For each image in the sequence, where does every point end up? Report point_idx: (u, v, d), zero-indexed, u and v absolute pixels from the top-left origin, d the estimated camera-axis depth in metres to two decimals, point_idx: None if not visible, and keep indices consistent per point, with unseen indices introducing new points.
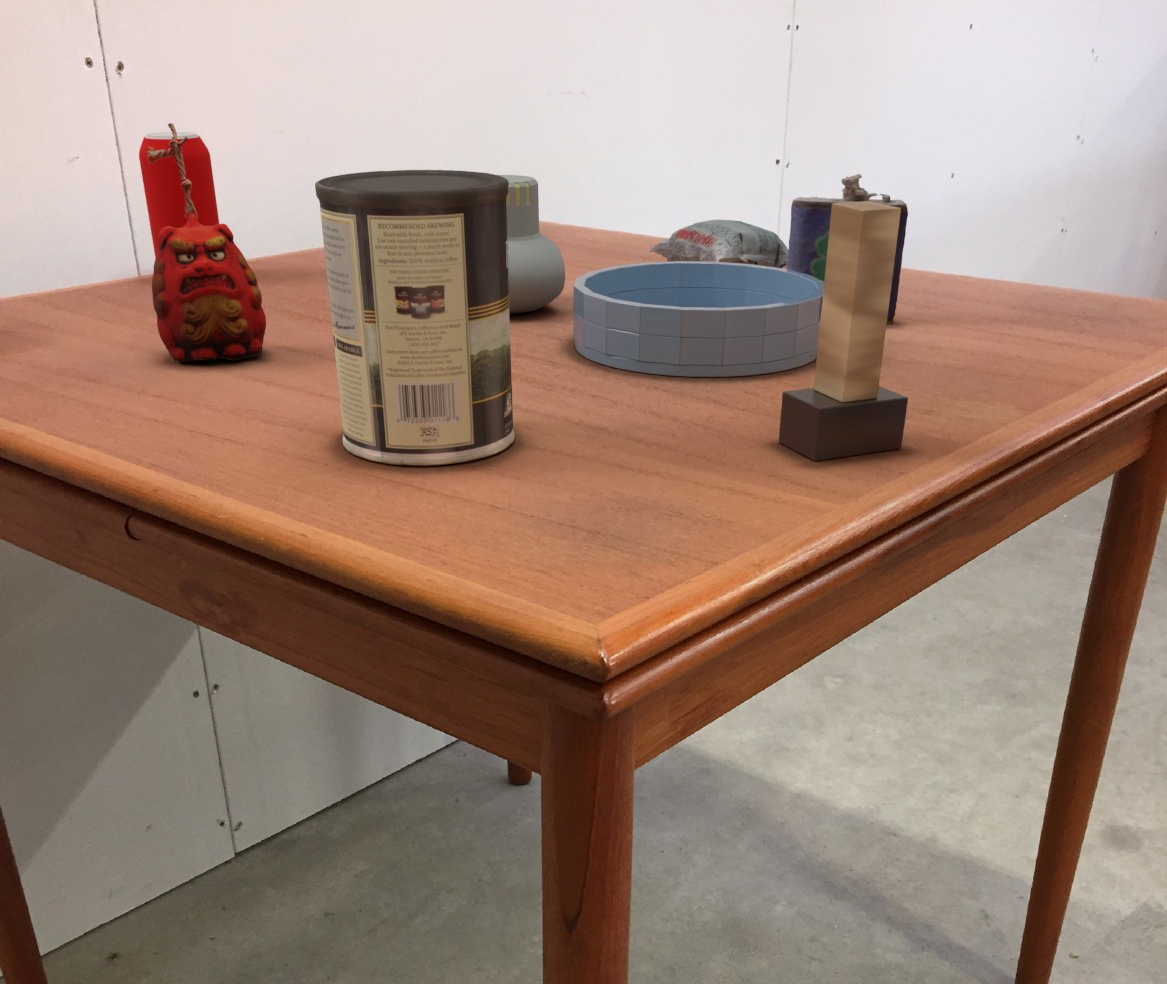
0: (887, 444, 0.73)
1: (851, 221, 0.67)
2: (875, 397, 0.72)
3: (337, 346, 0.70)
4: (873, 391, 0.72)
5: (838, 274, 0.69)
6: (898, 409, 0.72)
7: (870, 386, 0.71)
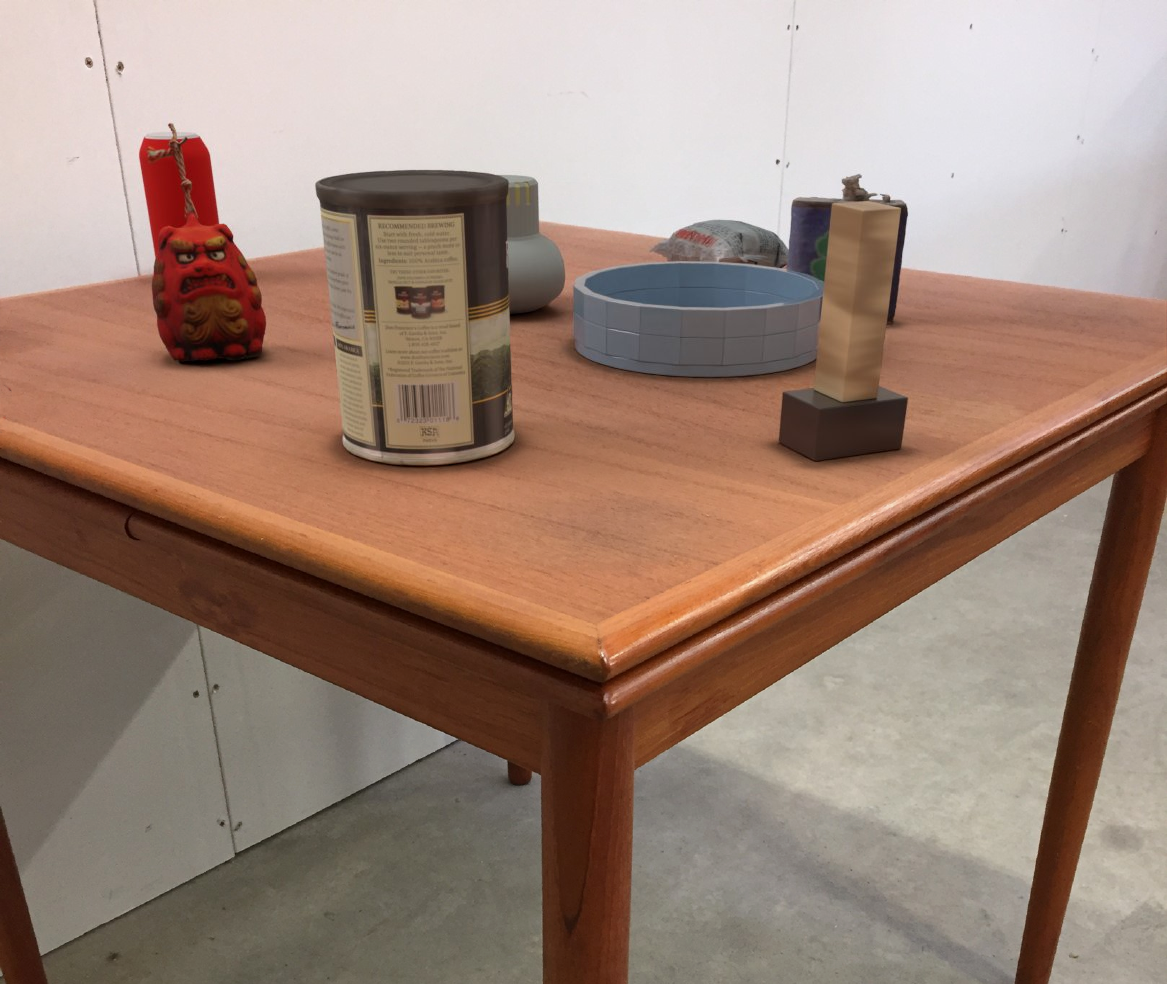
0: (887, 444, 0.73)
1: (851, 221, 0.67)
2: (875, 397, 0.72)
3: (337, 346, 0.70)
4: (873, 391, 0.72)
5: (838, 274, 0.69)
6: (898, 409, 0.72)
7: (870, 386, 0.71)
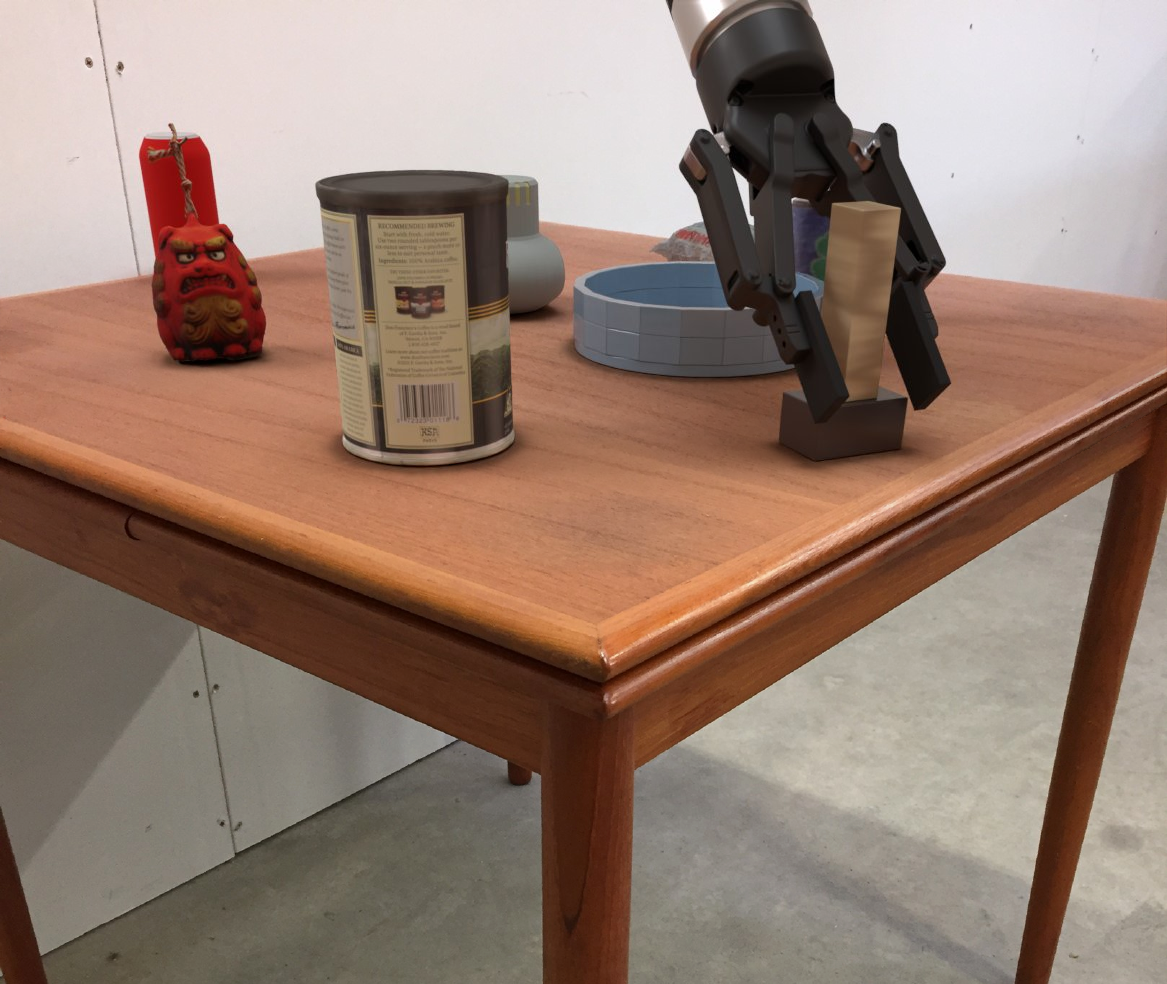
0: (887, 444, 0.73)
1: (851, 221, 0.67)
2: (875, 397, 0.72)
3: (337, 346, 0.70)
4: (873, 391, 0.72)
5: (838, 274, 0.69)
6: (898, 409, 0.72)
7: (870, 386, 0.71)
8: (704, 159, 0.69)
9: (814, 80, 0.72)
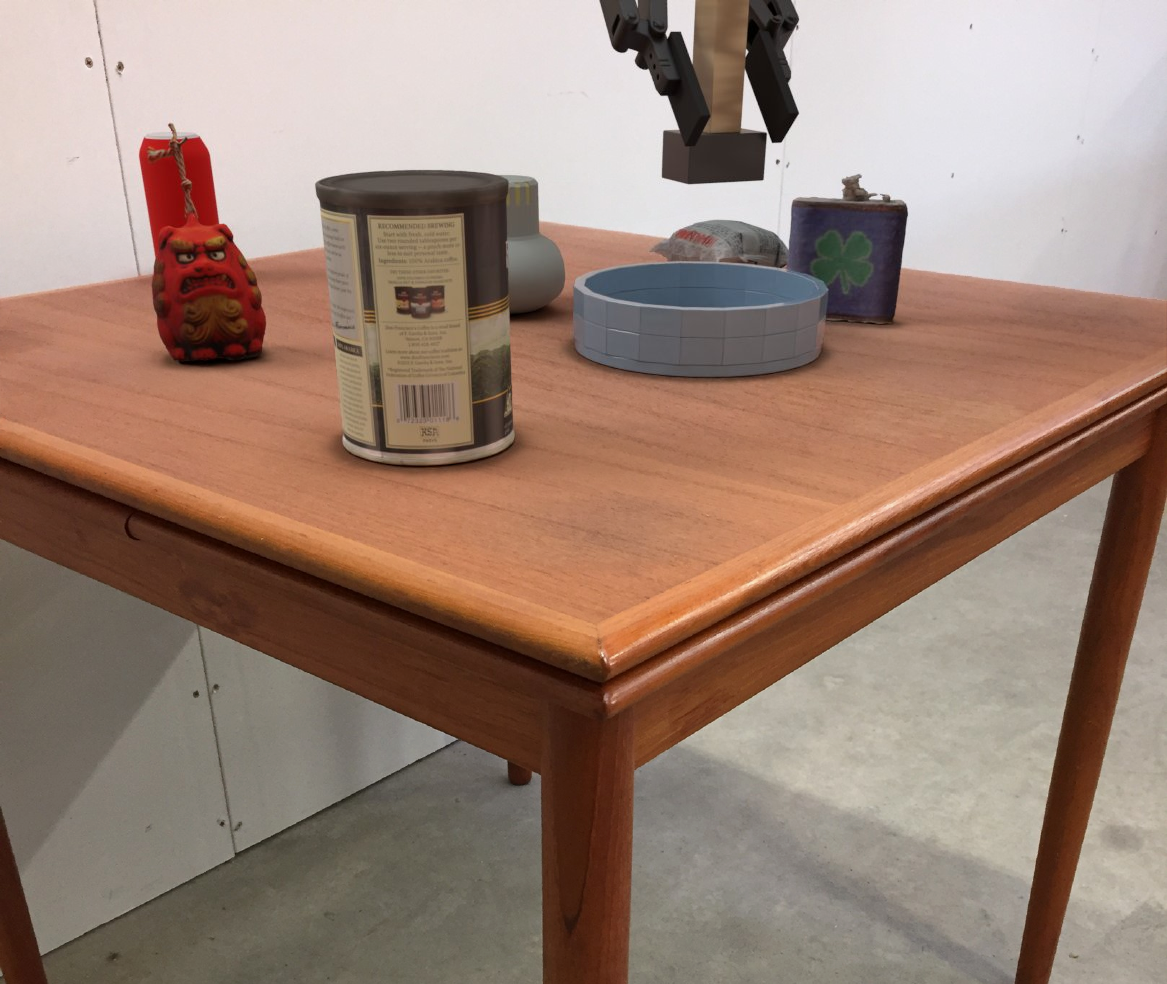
0: (751, 175, 0.87)
1: None
2: (739, 131, 0.86)
3: (337, 346, 0.70)
4: (737, 125, 0.86)
5: (703, 19, 0.83)
6: (758, 142, 0.86)
7: (734, 120, 0.85)
8: None
9: None
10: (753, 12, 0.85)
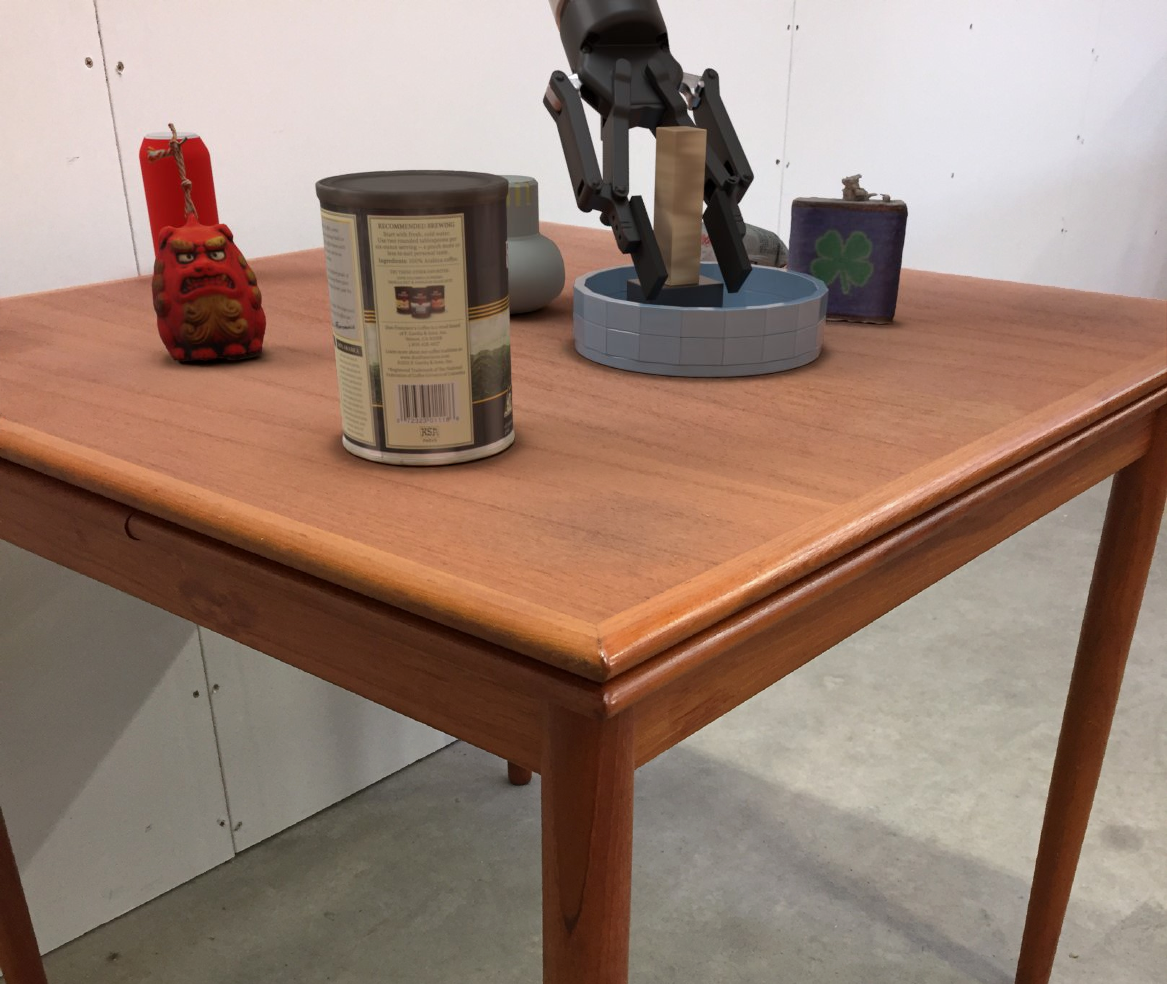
0: None
1: (668, 140, 0.87)
2: (697, 282, 0.92)
3: (337, 346, 0.70)
4: (695, 277, 0.91)
5: (663, 183, 0.89)
6: (716, 292, 0.92)
7: (692, 273, 0.91)
8: (559, 94, 0.89)
9: (649, 33, 0.91)
10: (710, 172, 0.91)
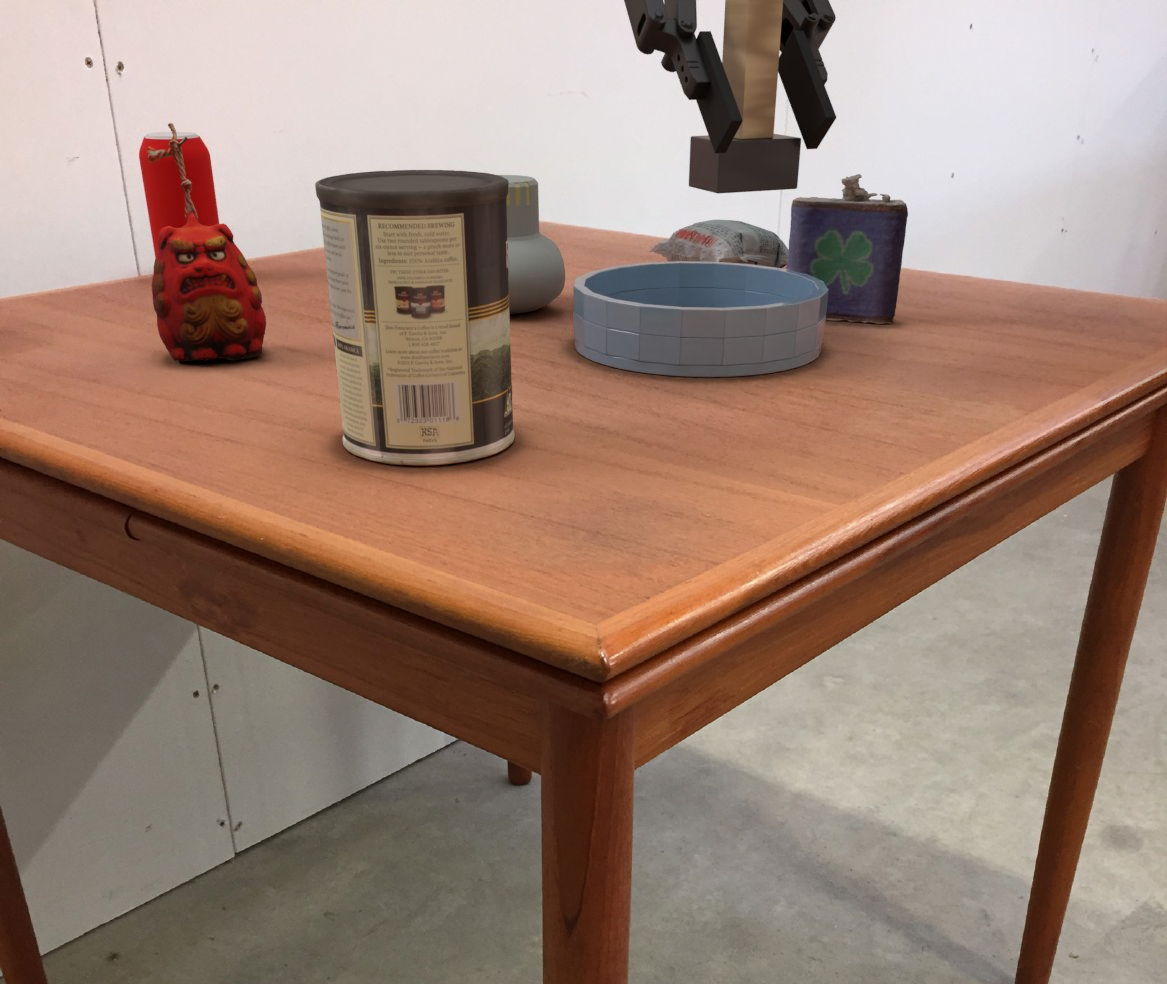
0: (784, 183, 0.82)
1: None
2: (771, 137, 0.81)
3: (337, 346, 0.70)
4: (769, 130, 0.81)
5: (734, 18, 0.78)
6: (792, 149, 0.81)
7: (766, 125, 0.80)
8: None
9: None
10: (787, 10, 0.80)
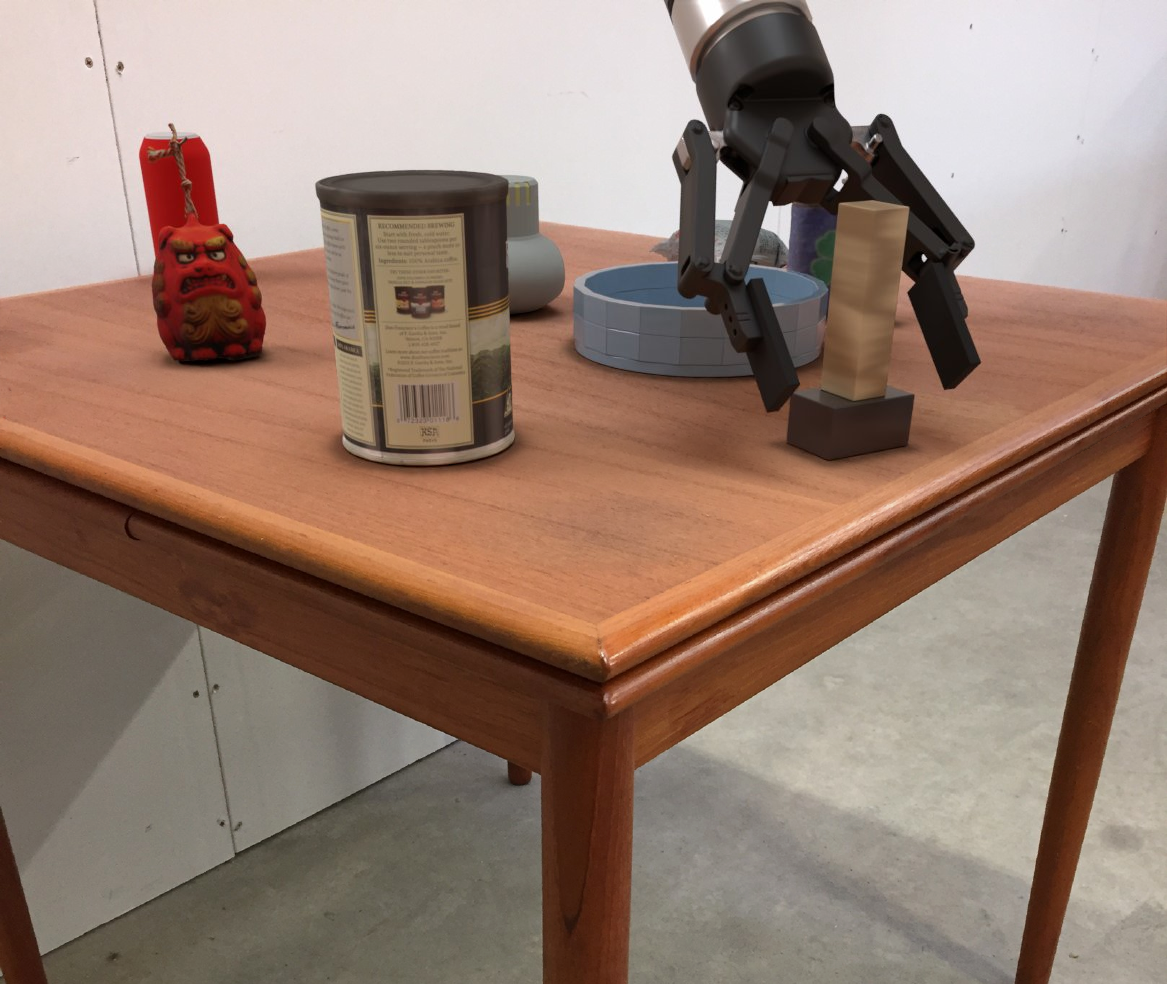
0: (895, 441, 0.74)
1: (860, 221, 0.67)
2: (883, 395, 0.72)
3: (337, 346, 0.70)
4: (882, 389, 0.72)
5: (847, 274, 0.69)
6: (905, 406, 0.73)
7: (879, 384, 0.72)
8: (691, 148, 0.70)
9: (814, 85, 0.72)
10: (921, 244, 0.72)
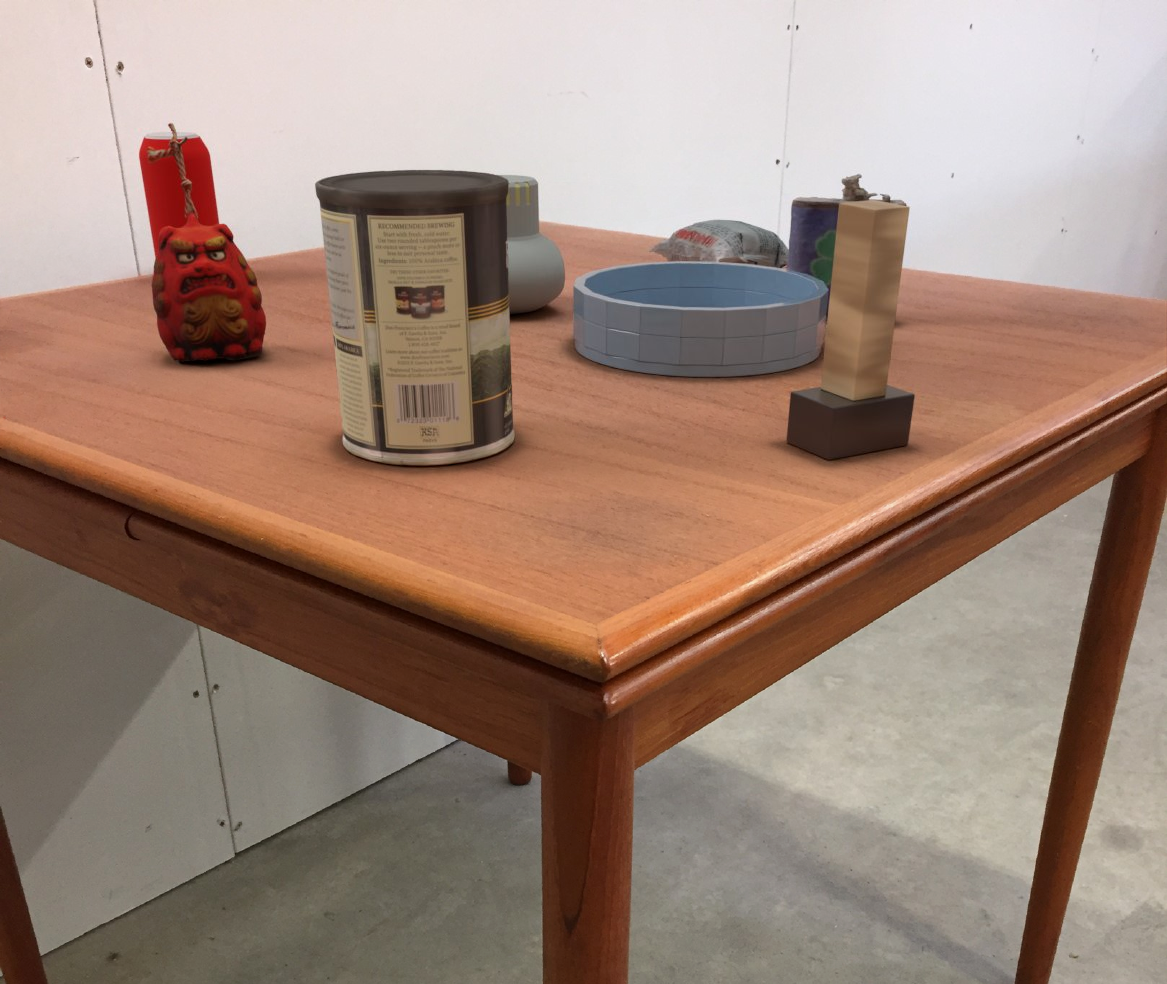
0: (895, 441, 0.74)
1: (861, 221, 0.67)
2: (883, 395, 0.72)
3: (337, 346, 0.70)
4: (882, 389, 0.72)
5: (847, 273, 0.69)
6: (905, 406, 0.73)
7: (879, 384, 0.72)
8: None
9: None
10: None
